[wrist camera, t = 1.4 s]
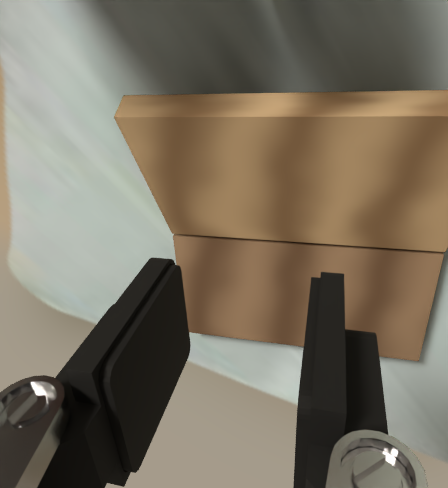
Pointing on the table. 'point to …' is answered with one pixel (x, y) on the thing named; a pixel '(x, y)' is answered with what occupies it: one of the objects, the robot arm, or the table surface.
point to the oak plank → (297, 165)
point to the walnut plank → (305, 289)
